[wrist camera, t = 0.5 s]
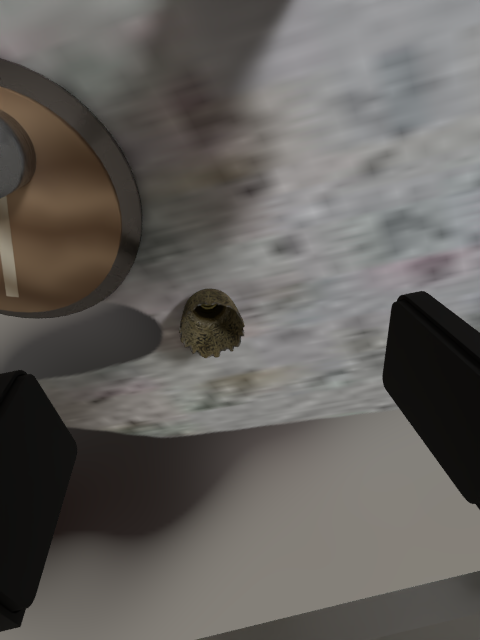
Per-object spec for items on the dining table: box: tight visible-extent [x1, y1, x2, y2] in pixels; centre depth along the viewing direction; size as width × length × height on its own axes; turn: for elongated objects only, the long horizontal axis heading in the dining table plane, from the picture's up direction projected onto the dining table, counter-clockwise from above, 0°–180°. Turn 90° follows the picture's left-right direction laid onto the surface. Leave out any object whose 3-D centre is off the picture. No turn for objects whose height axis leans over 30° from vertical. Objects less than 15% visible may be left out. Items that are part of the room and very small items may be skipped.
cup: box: [179, 289, 244, 358], centre depth 42 cm, size 8×7×8 cm
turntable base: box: [0, 58, 142, 318], centre depth 36 cm, size 26×26×1 cm
